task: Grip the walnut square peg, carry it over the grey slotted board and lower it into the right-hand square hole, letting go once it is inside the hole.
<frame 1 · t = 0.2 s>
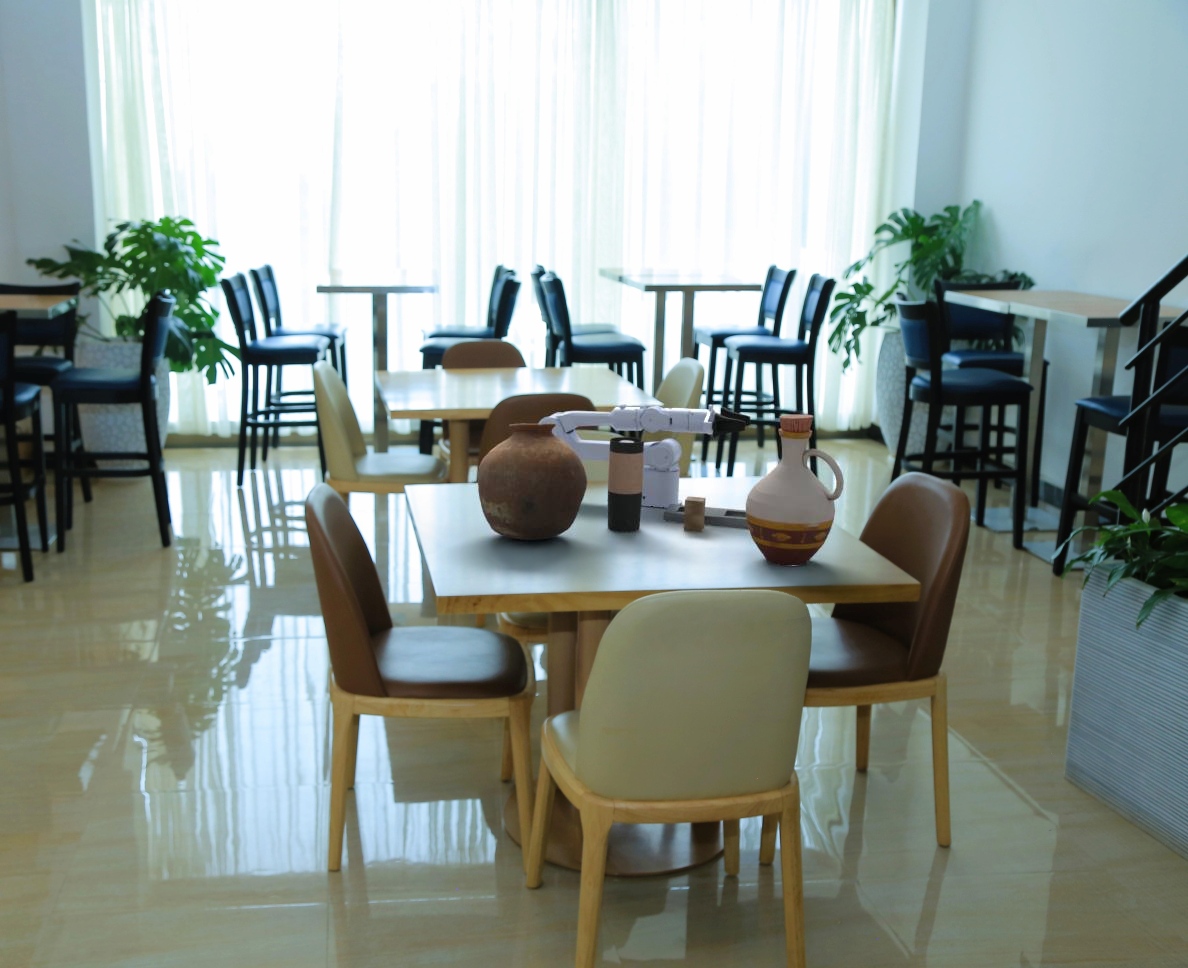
hand: (747, 423, 279), 21 cm above the table, tool horizontal, fingers open, 7 cm apart
pottery: (530, 538, 254), on the table
jug: (790, 562, 241), on the table
walnut peg: (693, 529, 265), on the table
grey slotted board: (713, 520, 274), on the table
travel mug: (623, 529, 264), on the table
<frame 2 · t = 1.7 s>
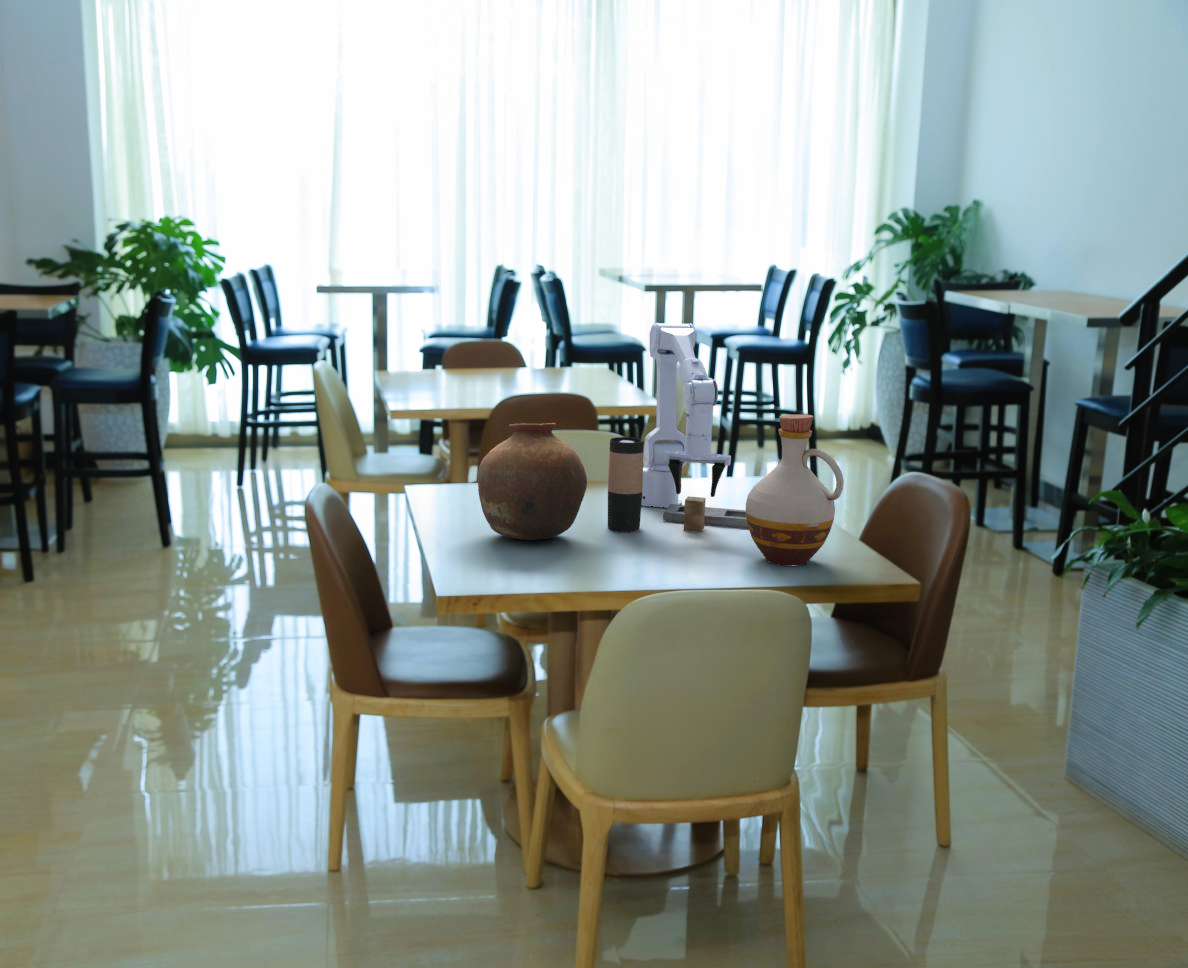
hand: (695, 494, 264), 8 cm above the table, tool pointing down, fingers open, 7 cm apart
nothing on the table moved.
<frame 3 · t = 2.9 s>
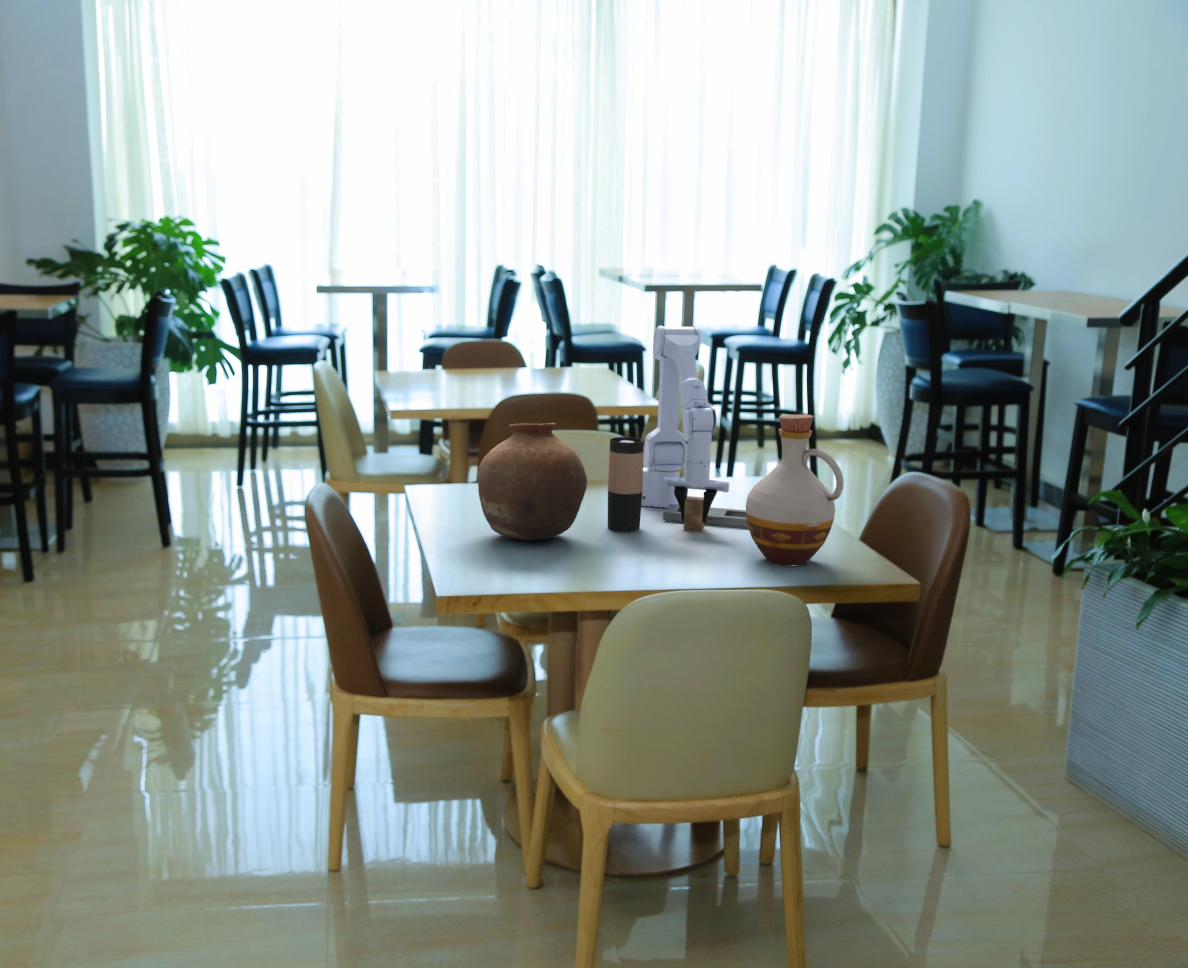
hand: (694, 520, 265), 2 cm above the table, tool pointing down, fingers closed on walnut peg, 4 cm apart
walnut peg: (693, 529, 265), on the table, touching gripper
everything else where it was.
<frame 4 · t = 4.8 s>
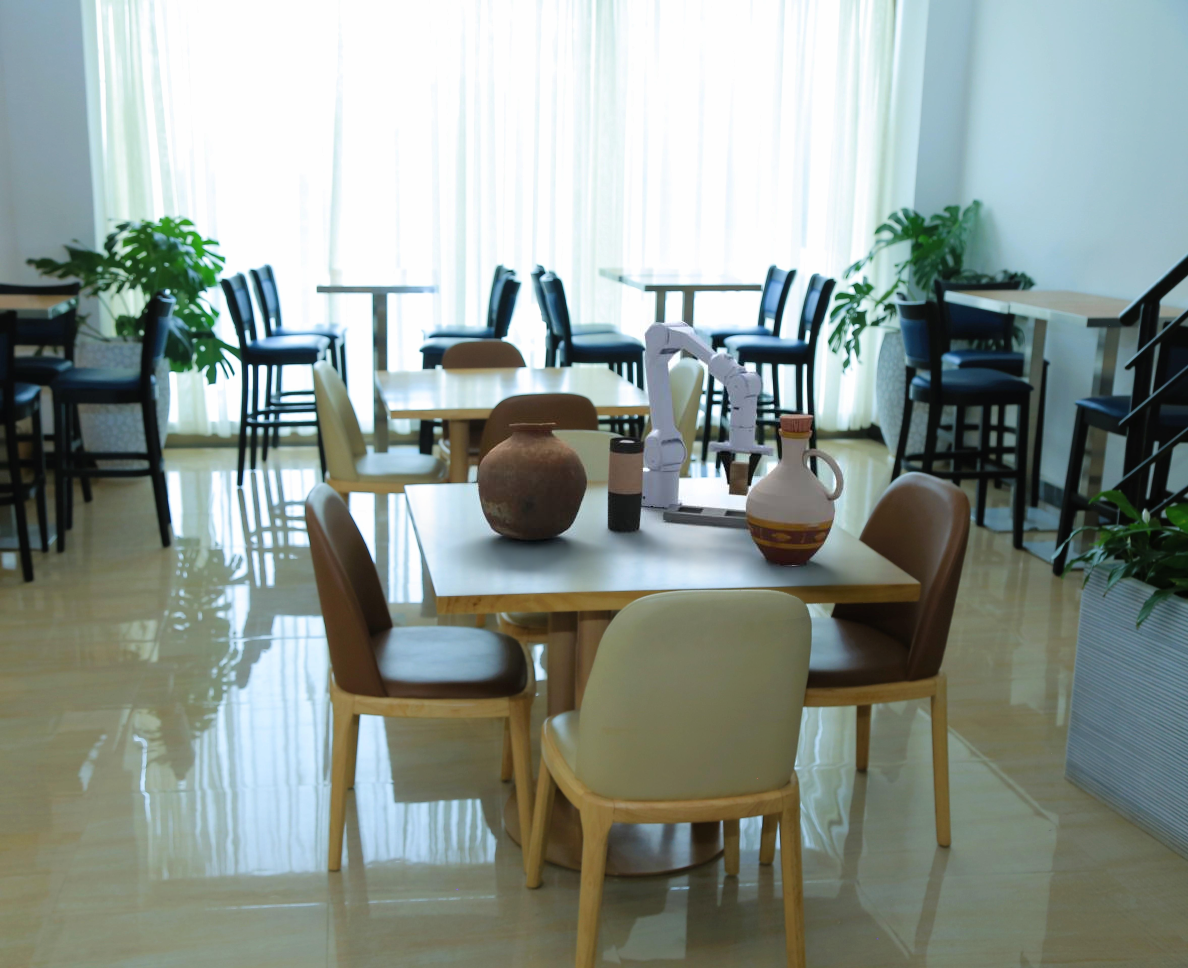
hand: (739, 484, 271), 9 cm above the table, tool pointing down, fingers closed on walnut peg, 4 cm apart
walnut peg: (738, 493, 272), point 7 cm above the table, touching gripper
everything else where it was.
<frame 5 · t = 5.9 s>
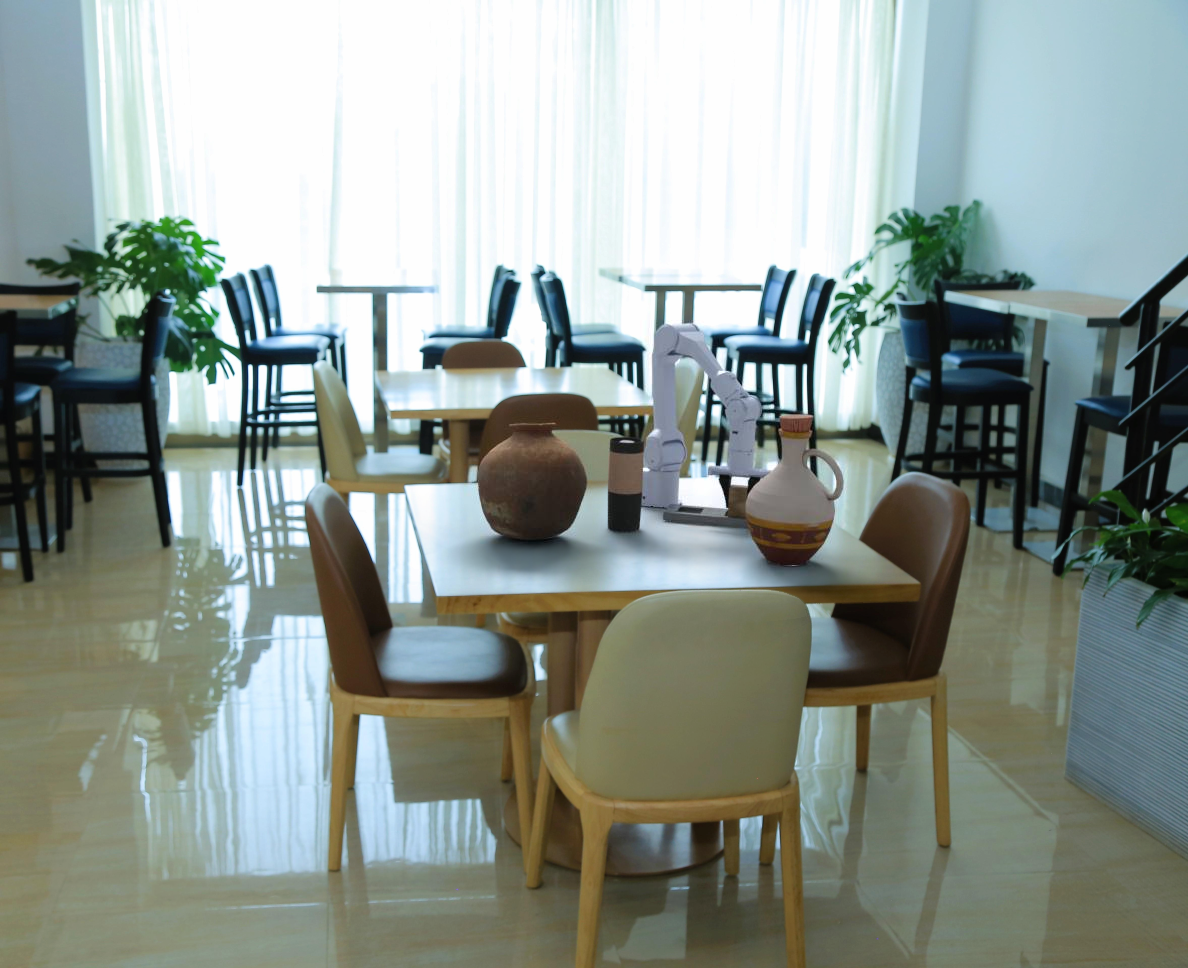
hand: (737, 508, 272), 3 cm above the table, tool pointing down, fingers closed on walnut peg, 4 cm apart
walnut peg: (737, 516, 273), point 1 cm above the table, touching gripper
everything else where it was.
when the fingers open (3 cm above the table, at t = 6.6 s): walnut peg drops 1 cm, resting in grey slotted board.
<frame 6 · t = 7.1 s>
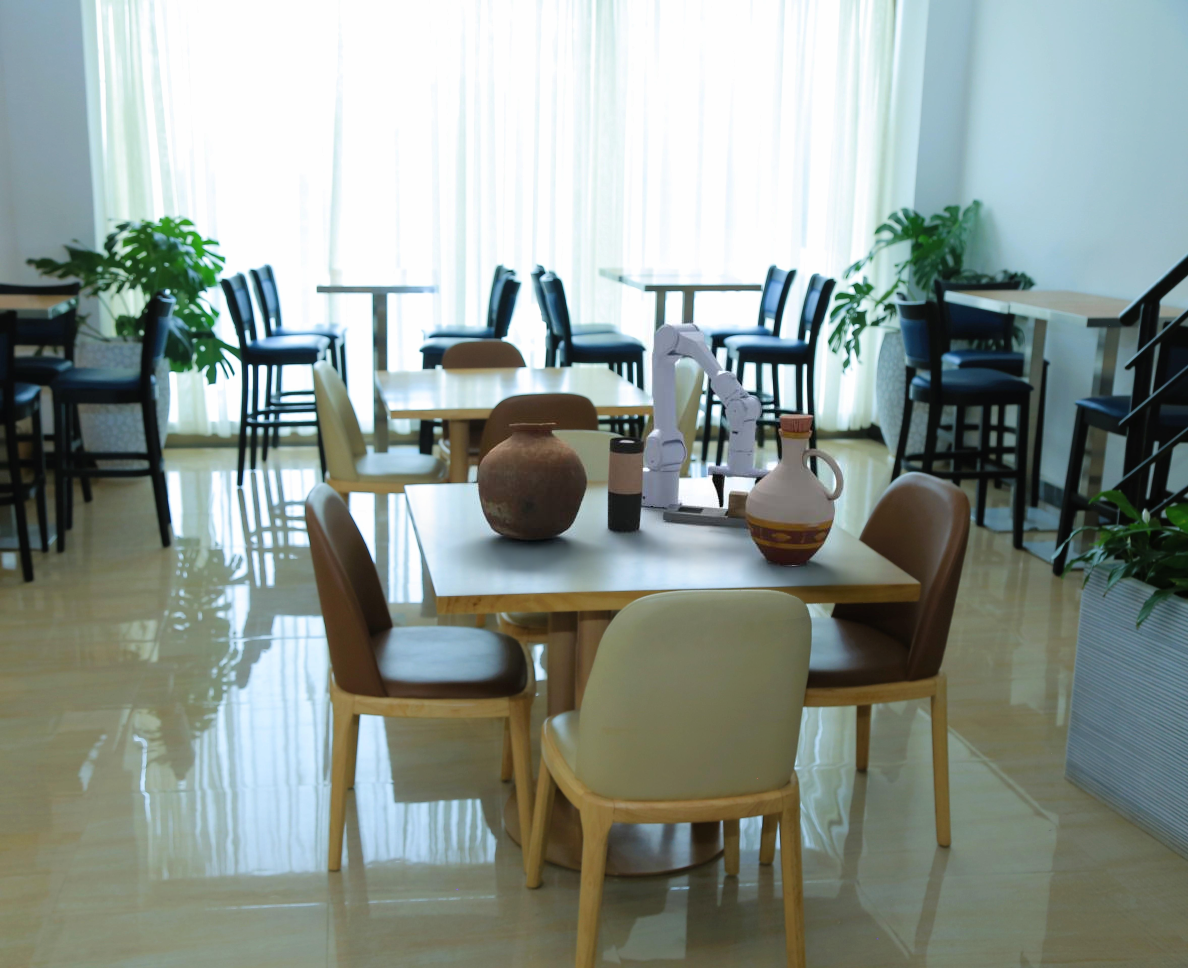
hand: (737, 508, 272), 3 cm above the table, tool pointing down, fingers open, 7 cm apart
walnut peg: (736, 522, 273), resting in grey slotted board
everything else where it was.
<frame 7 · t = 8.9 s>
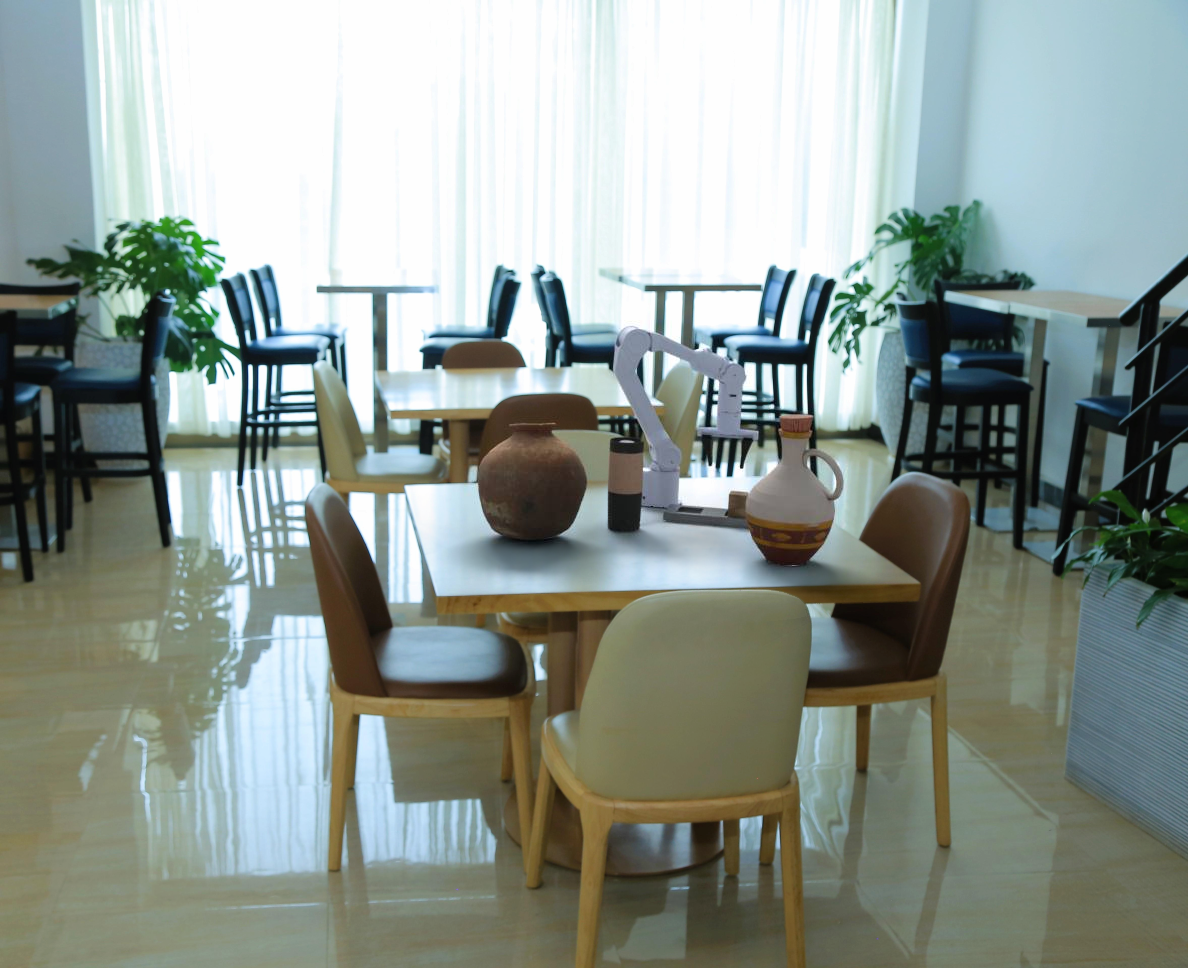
hand: (725, 466, 289), 9 cm above the table, tool pointing down, fingers open, 7 cm apart
nothing on the table moved.
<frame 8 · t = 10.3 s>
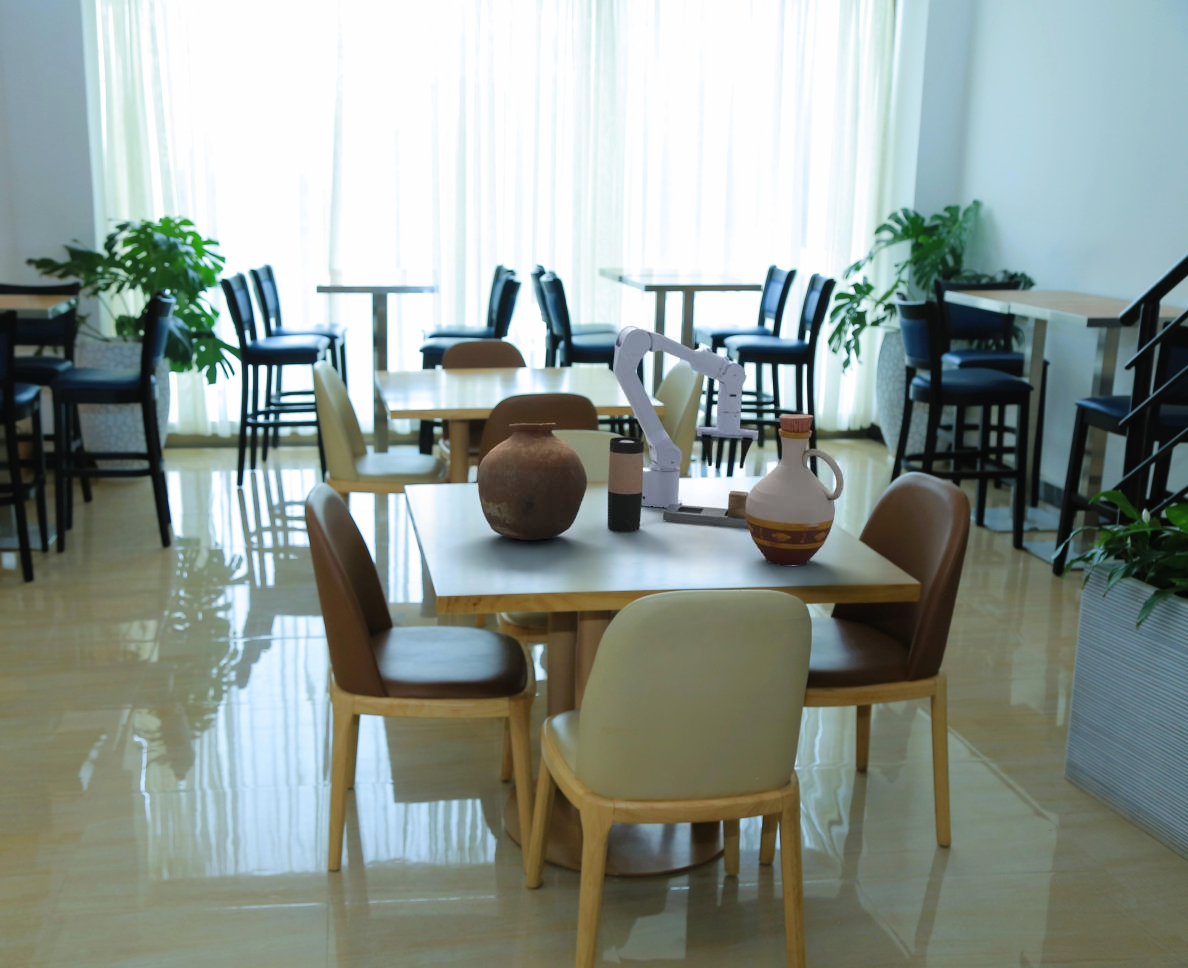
hand: (725, 466, 290), 9 cm above the table, tool pointing down, fingers open, 7 cm apart
nothing on the table moved.
at the end: walnut peg 0.1 cm from the target spot on the grey slotted board, point 0.0 cm above the grey slotted board's base; walnut peg tilted 0°; the gripper is holding nothing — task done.
